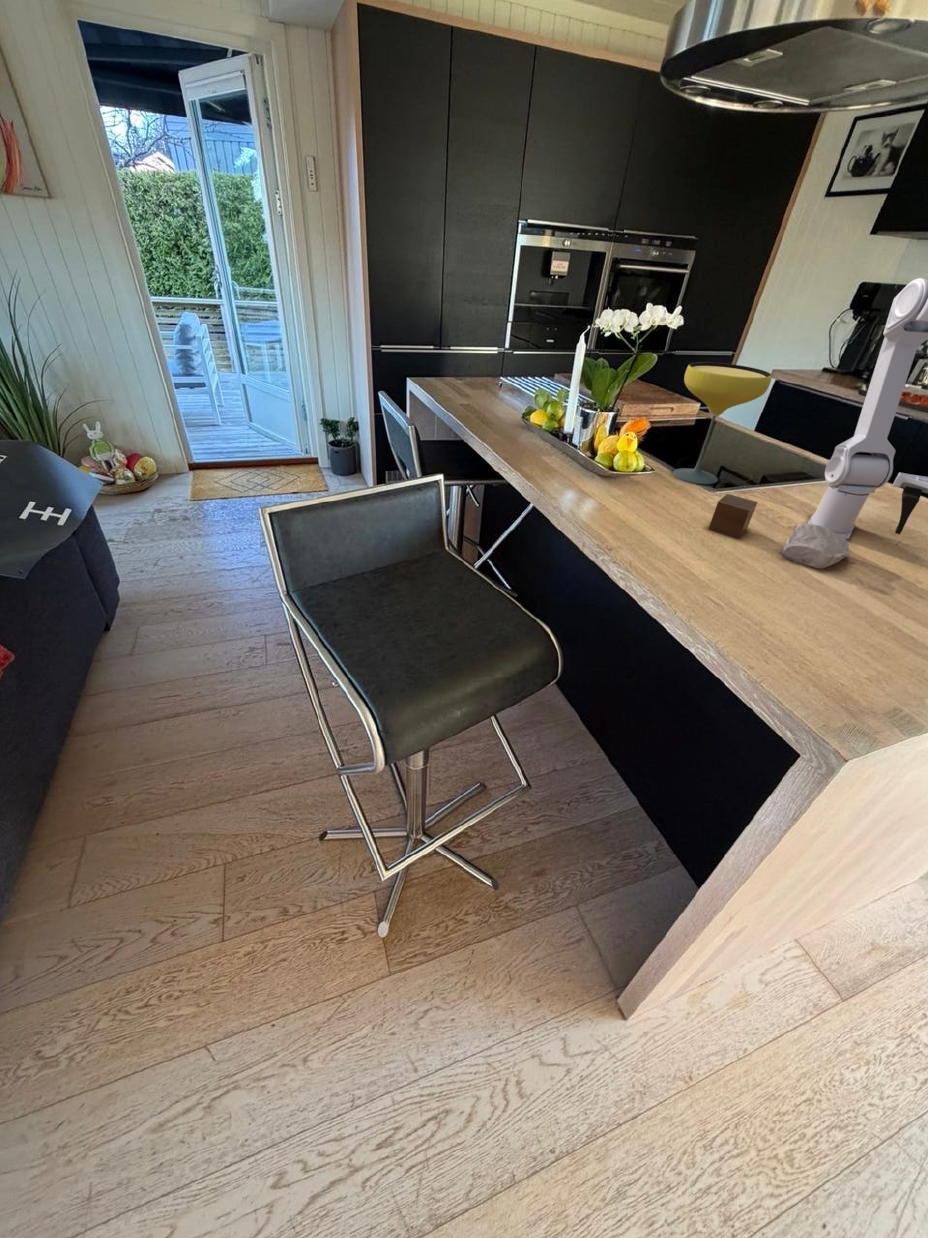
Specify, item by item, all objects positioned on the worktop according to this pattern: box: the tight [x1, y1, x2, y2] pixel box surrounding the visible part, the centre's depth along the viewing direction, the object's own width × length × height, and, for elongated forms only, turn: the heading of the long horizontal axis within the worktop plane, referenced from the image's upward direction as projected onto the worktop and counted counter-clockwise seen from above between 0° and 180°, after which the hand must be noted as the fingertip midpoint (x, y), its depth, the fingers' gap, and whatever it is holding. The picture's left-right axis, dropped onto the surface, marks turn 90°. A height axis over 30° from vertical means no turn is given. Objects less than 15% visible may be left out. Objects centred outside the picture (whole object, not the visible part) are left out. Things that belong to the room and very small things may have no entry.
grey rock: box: [781, 522, 850, 570], centre depth 98 cm, size 12×5×10 cm
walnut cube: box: [708, 493, 758, 539], centre depth 105 cm, size 6×6×6 cm
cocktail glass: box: [672, 361, 773, 486], centre depth 125 cm, size 18×18×25 cm
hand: (920, 538), depth 88 cm, fingers open, 6 cm apart
